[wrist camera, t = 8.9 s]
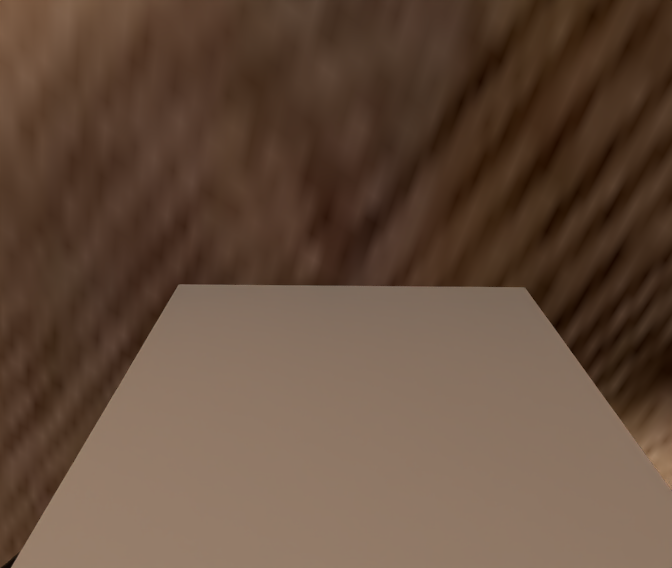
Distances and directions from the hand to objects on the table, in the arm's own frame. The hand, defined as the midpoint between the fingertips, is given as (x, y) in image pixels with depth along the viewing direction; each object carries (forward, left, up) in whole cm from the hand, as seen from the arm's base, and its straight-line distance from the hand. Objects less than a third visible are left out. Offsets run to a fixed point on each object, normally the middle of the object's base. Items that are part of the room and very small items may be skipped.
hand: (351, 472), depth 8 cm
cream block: (0, 0, -1) cm, 1 cm away
